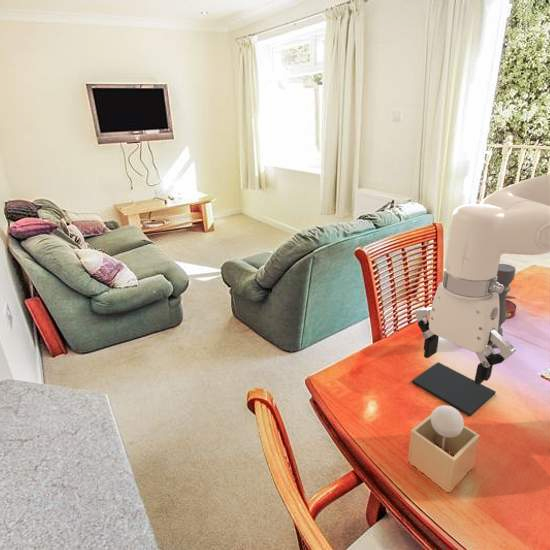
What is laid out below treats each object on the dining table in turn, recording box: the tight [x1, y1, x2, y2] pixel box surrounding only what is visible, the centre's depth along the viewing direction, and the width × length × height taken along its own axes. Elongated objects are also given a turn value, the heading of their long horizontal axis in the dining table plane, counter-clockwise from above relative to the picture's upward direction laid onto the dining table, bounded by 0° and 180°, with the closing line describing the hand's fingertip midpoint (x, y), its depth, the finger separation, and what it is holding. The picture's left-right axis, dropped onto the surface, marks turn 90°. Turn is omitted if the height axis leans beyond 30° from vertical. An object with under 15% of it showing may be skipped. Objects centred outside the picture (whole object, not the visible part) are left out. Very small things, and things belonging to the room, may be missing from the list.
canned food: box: [505, 294, 518, 320], centre depth 129 cm, size 11×10×10 cm
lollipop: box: [430, 404, 465, 451], centre depth 75 cm, size 6×6×15 cm
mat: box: [411, 361, 497, 417], centre depth 98 cm, size 16×12×1 cm
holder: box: [407, 413, 481, 493], centre depth 76 cm, size 9×9×9 cm
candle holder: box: [491, 263, 516, 349], centre depth 110 cm, size 6×6×25 cm
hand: (454, 367), depth 68 cm, fingers open, 9 cm apart
